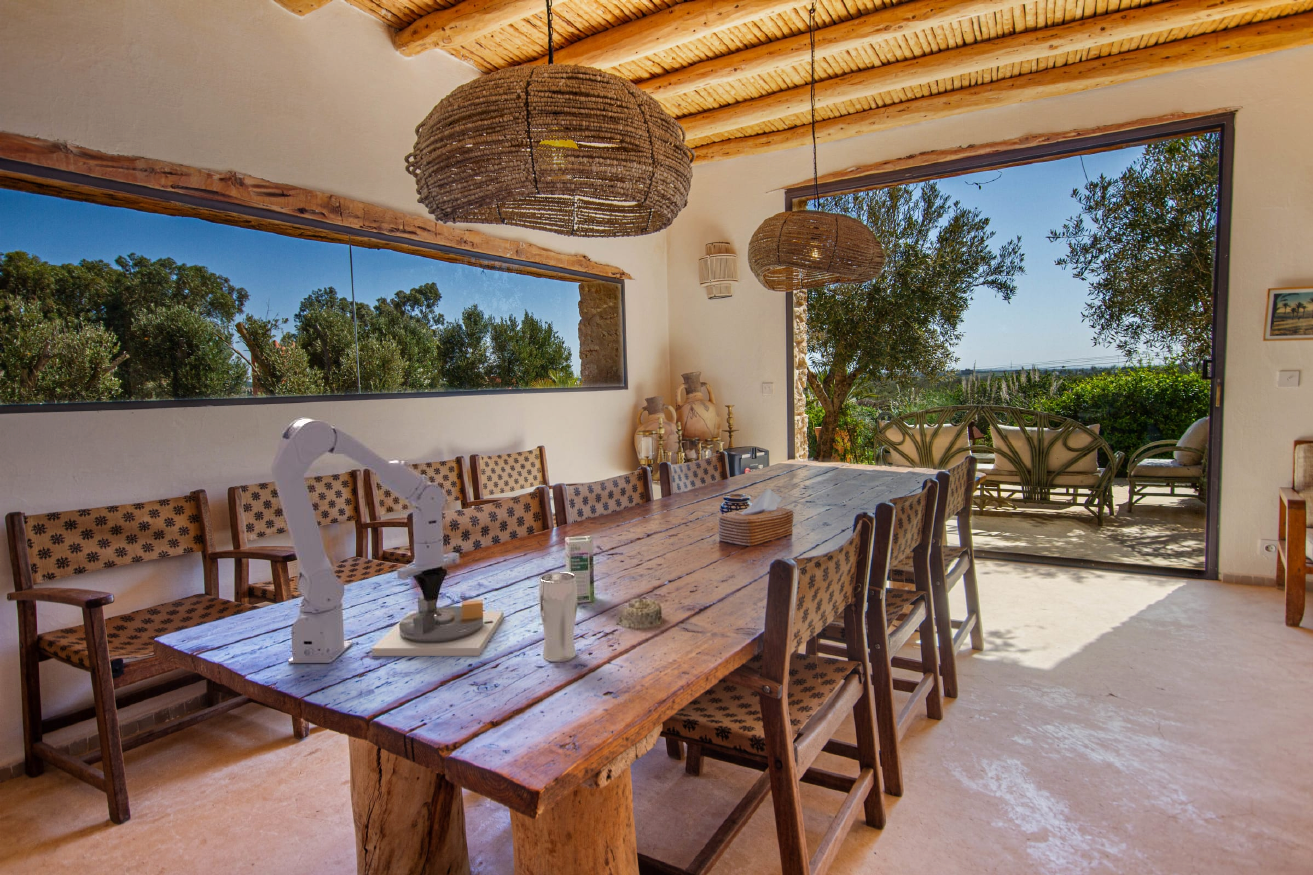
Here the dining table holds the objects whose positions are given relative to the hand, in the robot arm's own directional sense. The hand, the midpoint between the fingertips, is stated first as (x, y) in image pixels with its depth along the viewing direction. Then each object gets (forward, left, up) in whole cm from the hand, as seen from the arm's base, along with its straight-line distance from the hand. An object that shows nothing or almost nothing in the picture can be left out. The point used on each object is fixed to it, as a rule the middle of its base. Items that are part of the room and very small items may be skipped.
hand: (431, 604), depth 143 cm
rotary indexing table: (-5, -4, -3) cm, 7 cm away
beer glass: (-15, -29, -5) cm, 33 cm away
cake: (+3, -43, -5) cm, 44 cm away
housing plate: (-5, -4, -5) cm, 8 cm away
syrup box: (+17, -29, -5) cm, 34 cm away
